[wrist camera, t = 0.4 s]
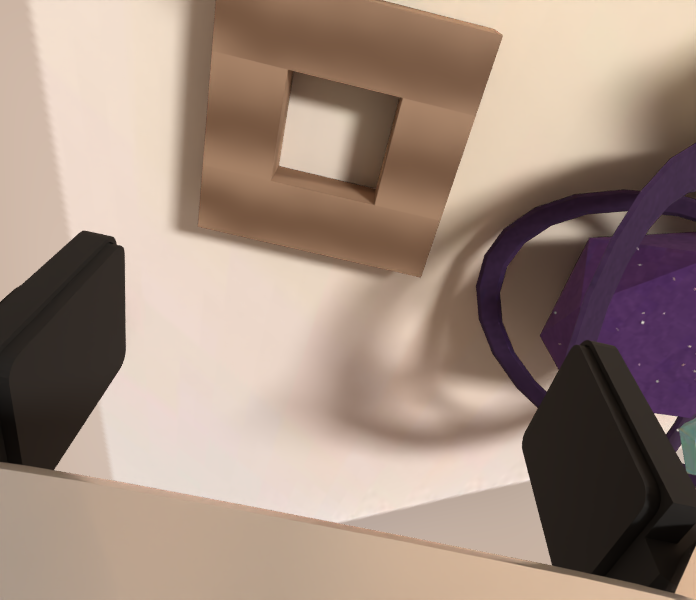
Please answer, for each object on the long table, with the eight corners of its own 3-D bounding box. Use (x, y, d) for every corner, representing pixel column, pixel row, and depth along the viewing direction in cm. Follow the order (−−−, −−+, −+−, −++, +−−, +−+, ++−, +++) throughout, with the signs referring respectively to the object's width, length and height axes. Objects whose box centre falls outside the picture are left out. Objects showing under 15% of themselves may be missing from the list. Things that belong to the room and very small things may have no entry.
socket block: (232, -39, 32) (218, -38, 30) (494, 29, 33) (502, 35, 31) (210, 209, 41) (197, 226, 38) (419, 257, 42) (420, 277, 39)
